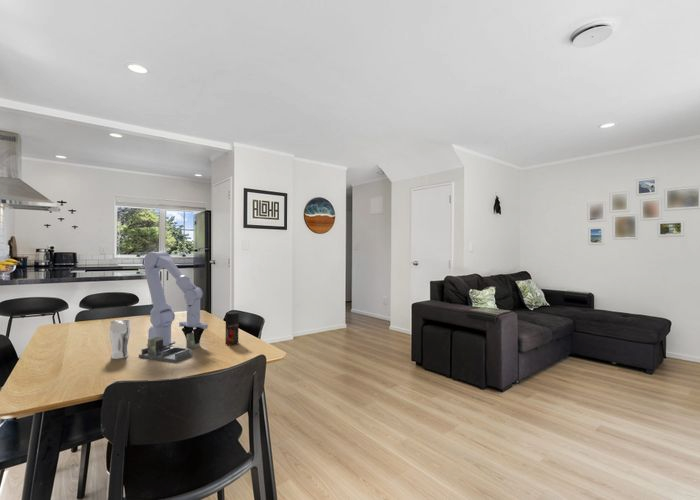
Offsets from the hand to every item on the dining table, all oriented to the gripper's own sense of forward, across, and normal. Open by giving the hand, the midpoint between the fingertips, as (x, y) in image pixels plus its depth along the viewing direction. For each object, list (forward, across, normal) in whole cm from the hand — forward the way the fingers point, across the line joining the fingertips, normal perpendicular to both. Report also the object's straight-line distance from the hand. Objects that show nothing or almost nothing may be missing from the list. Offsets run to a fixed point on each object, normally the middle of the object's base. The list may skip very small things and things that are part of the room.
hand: (193, 342), depth 161 cm
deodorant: (+2, +14, +10) cm, 17 cm away
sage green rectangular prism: (+2, 0, 0) cm, 2 cm away
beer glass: (+2, -17, -23) cm, 29 cm away
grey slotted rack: (+2, 0, -16) cm, 16 cm away
